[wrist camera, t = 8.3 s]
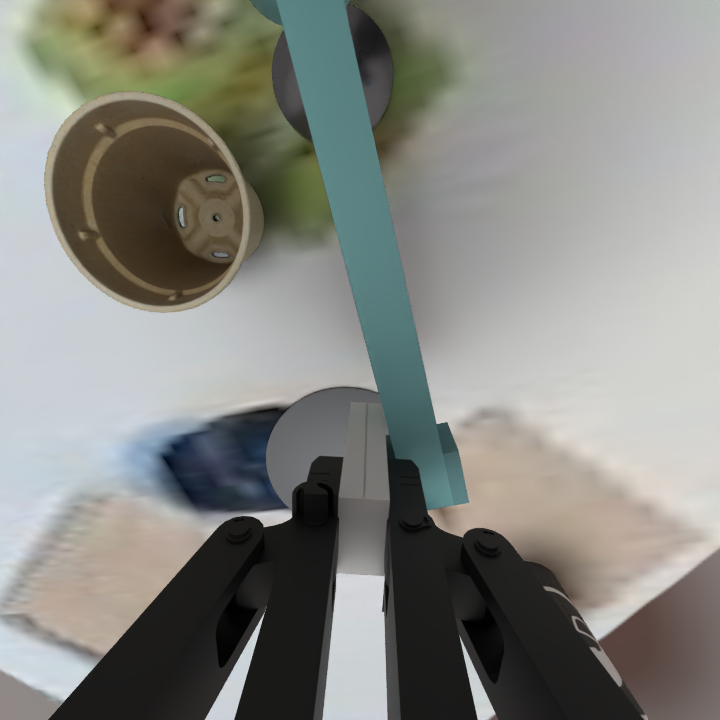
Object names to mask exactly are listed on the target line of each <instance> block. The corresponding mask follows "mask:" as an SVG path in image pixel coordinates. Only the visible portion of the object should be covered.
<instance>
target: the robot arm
mask: <svg viewBox="0 0 720 720" xmlns="http://www.w3.org/2000/svg"><path fill="white" fill-rule="evenodd" d="M336 573H343V574H359V575H376V576H384V573H385V582H384V595H383V608H382V612H384V616H385V648H386V680H387V712H388V720H478V719H477V715H476V710H475V705H474V701H473V696H472V692H471V687H470V682H469V678H468V673H467V669H466V664H465V660H464V655H463V650H462V646H461V641H460V637H461V639H462V641H463V644H464V646H465V648H466V650H467V652H468V655H469V657H470V659H471V661H472V663H473V665H474V668H475V670H476V672H477V674H478V676H479V678H480V681H481V683H482V685H483V687H484V689H485V692H486V694H487V696H488V698H489V700H490V702H491V705H492V707H493V709H494V711H495V713H496V715H497V718H498V720H644V719H643V717H642V716H641V715H640V713H639V712H638V711H637V710H636V708H635V707H634V706H633V704H632V703H631V702H630V700H629V699H628V698H627V696H626V695H625V694H624V692H623V691H622V690H621V688H620V687H619V686H618V685H617V683H616V682H615V681H614V679H613V678H612V677H611V675H610V674H609V673H608V671H607V670H606V669H605V667H604V666H603V665H602V663H601V662H600V661H599V660H598V658H597V657H596V656H595V654H594V653H593V652H592V650H591V649H590V648H589V646H588V645H587V644H586V642H585V641H584V640H583V638H582V637H581V636H580V634H579V633H578V632H577V631H576V629H575V628H574V627H573V625H572V624H571V623H570V621H569V620H568V619H567V617H566V616H565V615H564V613H563V612H562V611H561V609H560V608H559V607H558V606H557V604H556V603H555V602H554V600H553V599H552V598H551V596H550V595H549V594H548V592H547V591H546V590H545V588H544V587H543V586H542V584H541V583H540V582H539V580H538V579H537V578H536V577H535V575H534V574H533V573H532V571H531V570H530V569H529V567H528V566H527V565H526V563H525V562H524V561H523V559H522V558H521V557H520V555H519V554H518V553H517V552H516V550H515V549H514V548H513V546H512V545H511V544H510V542H509V541H508V540H507V539H506V538H504V537H503V536H502V535H500V534H499V533H497V532H495V531H492V530H489V529H485V528H474V529H471V530H468V531H467V532H466V533H465V534H464V537H463V538H462V537H459V536H456V535H453V534H450V533H447V532H445V531H443V530H441V529H439V528H438V527H437V526H436V525H435V523H434V521H433V519H432V518H431V517H430V516H429V515H428V512H427V507H426V502H425V497H424V492H423V487H422V482H421V479H420V472H419V468H418V467H417V466H416V464H415V463H414V462H413V461H412V460H407V459H389V458H387V450H386V436H385V421H384V412H383V408H382V404H381V403H362V402H351V405H350V413H349V420H348V428H347V436H346V443H345V451H344V457H333V456H318V457H317V458H316V459H315V460H314V461H313V462H312V463H311V466H310V470H309V474H308V477H307V481H306V482H303V483H301V484H299V485H298V486H297V487H295V489H294V490H293V492H292V518H291V519H290V520H288V521H286V522H284V523H282V524H278V525H274V526H269V527H263V524H262V523H261V522H260V520H258V519H256V518H254V517H249V516H241V517H235V518H232V519H230V520H228V521H225V522H224V523H223V524H222V525H220V526H219V527H218V528H217V529H216V530H215V532H214V533H213V534H212V535H211V536H210V537H209V538H208V539H207V541H206V542H205V543H204V544H203V545H202V546H201V547H200V549H199V550H198V551H197V552H196V553H195V554H194V555H193V556H192V558H191V559H190V560H189V561H188V562H187V563H186V564H185V566H184V567H183V568H182V569H181V570H180V571H179V572H178V573H177V575H176V576H175V577H174V578H173V579H172V580H171V581H170V583H169V584H168V585H167V586H166V587H165V588H164V589H163V590H162V592H161V593H160V594H159V595H158V596H157V597H156V598H155V599H154V601H153V602H152V603H151V604H150V605H149V606H148V607H147V609H146V610H145V611H144V612H143V613H142V614H141V615H140V616H139V618H138V619H137V620H136V621H135V622H134V623H133V624H132V626H131V627H130V628H129V629H128V630H127V631H126V632H125V633H124V635H123V636H122V637H121V638H120V639H119V640H118V641H117V643H116V644H115V645H114V646H113V647H112V648H111V649H110V650H109V652H108V653H107V654H106V655H105V656H104V657H103V658H102V659H101V661H100V662H99V663H98V664H97V665H96V666H95V667H94V669H93V670H92V671H91V672H90V673H89V674H88V675H87V676H86V678H85V679H84V680H83V681H82V682H81V683H80V684H79V686H78V687H77V688H76V689H75V690H74V691H73V692H72V693H71V695H70V696H69V697H68V698H67V699H66V700H65V701H64V703H63V704H62V705H61V706H60V707H59V708H58V709H57V711H56V712H55V713H54V714H53V715H52V716H51V717H50V718H49V719H48V720H205V718H206V716H207V715H208V713H209V711H210V709H211V707H212V706H213V704H214V702H215V700H216V698H217V697H218V695H219V693H220V691H221V689H222V688H223V686H224V684H225V682H226V680H227V679H228V677H229V675H230V673H231V671H232V670H233V668H234V666H235V664H236V662H237V661H238V659H239V657H240V655H241V654H242V652H243V650H244V648H245V646H246V645H247V643H248V641H249V639H250V637H251V636H252V634H253V632H254V630H255V628H256V627H257V625H258V623H259V621H260V619H261V618H262V616H263V614H264V612H265V614H264V618H263V621H262V625H261V628H260V632H259V635H258V639H257V642H256V646H255V649H254V653H253V656H252V660H251V663H250V667H249V670H248V674H247V677H246V681H245V684H244V688H243V691H242V695H241V698H240V702H239V705H238V709H237V712H236V716H235V719H234V720H322V717H323V708H324V698H325V688H326V679H327V669H328V659H329V650H330V640H331V630H332V621H333V611H334V601H335V592H336ZM266 606H267V607H266ZM265 609H266V611H265ZM459 635H460V637H459Z"/></svg>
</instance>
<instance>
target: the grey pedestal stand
mask: <svg viewBox="0 0 720 720" xmlns="http://www.w3.org/2000/svg"><path fill="white" fill-rule="evenodd" d="M345 9H346V13H347V18H348V22H349V27H350V32H351V36H352V41H353V45H354V50H355V54H356V59H357V64H358V68H359V73H360V77H361V82H362V86H363V91H364V96H365V100H366V105H367V109H368V114H369V118H370V123H371V128H372V131H374V129H375V128H376V127H377V126H378V124H379V123H380V121H381V120H382V118H383V116H384V114H385V112H386V110H387V107H388V104H389V101H390V96H391V91H392V81H393V65H392V58H391V54H390V50H389V47H388V44H387V42H386V39H385V37H384V35H383V33H382V32H381V30H380V29H379V27H378V26H377V24H376V23H375V22H374V21H373V20H372V19H371V18H370V17H369V16H368V15H367V14H366V13H364V12H363V11H361V10H360V9H358V8H356V7H354V6H352V5H349V4H347V5H346V7H345ZM272 81H273V88H274V92H275V96H276V99H277V102H278V105H279V107H280V109H281V111H282V113H283V114H284V116H285V117H286V119H287V120H288V122H289V123H290V124H291V126H292V127H293V128H294V129H295V130H296V131H297V132H298V133H299V134H300V135H301V136H302V137H304V138H305V139H306V140H308V141H310V142H312V143H313V139H312V135H311V132H310V128H309V124H308V120H307V116H306V112H305V109H304V105H303V101H302V97H301V93H300V89H299V86H298V82H297V78H296V74H295V70H294V66H293V63H292V59H291V55H290V51H289V47H288V43H287V40H286V36H285V32H284V31H283V32H282V34H281V36H280V38H279V40H278V43H277V46H276V48H275V52H274V57H273V64H272ZM313 144H314V143H313Z"/></svg>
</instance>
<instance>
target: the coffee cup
mask: <svg viewBox="0 0 720 720" xmlns="http://www.w3.org/2000/svg"><path fill="white" fill-rule="evenodd" d="M525 563H526V565H527V566H528V567H529V569H530V570H531V571H532V573H533V574H534V575H535V577H536V578H537V579H538V580H539V582H540V583H541V584H542V586H543V587H544V588H545V590H546V591H547V592H548V594H549V595H550V596H551V598H552V599H553V600H554V602H555V603H556V604H557V606H558V607H559V608H560V609H561V611H562V612H563V613H564V615H565V616H566V617H567V619H568V620H569V621H570V623H571V624H572V625H573V627H574V628H575V629H576V631H577V632H578V633H579V634H580V636H581V637H582V638H583V640H584V641H585V642H586V644H587V645H588V646H589V648H590V649H591V650H592V652H593V653H594V654H595V656H596V657H597V658H598V660H599V661H600V662H601V663H602V665H603V666H604V667H605V669H606V670H607V671H608V673H609V674H610V675H611V677H612V678H613V679H614V681H615V682H616V683H617V685H618V686H619V687H620V688H621V690H622V691H623V692H624V694H625V695H626V696H627V698H628V699H629V700H630V702H631V703H632V704H633V706H634V707H635V708H636V710H637V711H638V712H639V713H640V715H641V716H642V717H643V719H644V720H649V719H648V718H647V716H646V715H645V713H644V712H643V710H642V709H641V707H640V706H639V704H638V703H637V701H636V700H635V698H634V697H633V695H632V694H631V692H630V690H629V689H628V687H627V686H626V685H625V683H624V681H623V680H622V678H621V677H620V675H619V674H618V672H617V671H616V669H615V668H614V666H613V665H612V663H611V662H610V660H609V658H608V657H607V655H606V654H605V652H604V651H603V649H602V648H601V646H600V645H599V643H598V642H597V640H596V639H595V637H594V636H593V634H592V632H591V631H590V629H589V628H588V626H587V625H586V623H585V622H584V620H583V619H582V617H581V616H580V614H579V613H578V611H577V610H576V608H575V606H574V605H573V603H572V602H571V600H570V599H569V597H568V596H567V594H566V593H565V591H564V590H563V588H562V587H561V585H560V583H559V582H558V580H557V579H556V577H555V576H554V575H553V573H552V572H551V571H550V570H548V569H547V568H545V567H544V566H542V565H539V564H536V563H531V562H525Z"/></svg>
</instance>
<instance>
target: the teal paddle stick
mask: <svg viewBox="0 0 720 720" xmlns="http://www.w3.org/2000/svg"><path fill="white" fill-rule="evenodd" d="M249 1H250V2H251V3H252V4H253V6H254V7H255V8H256V9H257V10H258V11H259V12H260V13H261V14H263V15H264V16H265V17H266V18H268V19H269V20H271V21H273V22H274V23H276V24H279V25H281V26H283V28H284V32H285V36H286V40H287V43H288V47H289V51H290V55H291V59H292V63H293V66H294V70H295V74H296V78H297V82H298V86H299V89H300V93H301V97H302V101H303V105H304V109H305V112H306V116H307V120H308V124H309V128H310V132H311V135H312V139H313V143H314V147H315V151H316V155H317V158H318V162H319V166H320V170H321V174H322V178H323V181H324V185H325V189H326V193H327V197H328V201H329V204H330V208H331V212H332V216H333V220H334V224H335V227H336V231H337V235H338V239H339V243H340V247H341V250H342V254H343V258H344V262H345V266H346V270H347V273H348V277H349V281H350V285H351V289H352V293H353V296H354V300H355V304H356V308H357V312H358V316H359V319H360V323H361V327H362V331H363V335H364V339H365V342H366V346H367V350H368V354H369V358H370V362H371V366H372V369H373V373H374V377H375V381H376V385H377V389H378V392H379V396H380V400H381V404H382V408H383V412H384V415H385V419H386V423H387V427H388V431H389V435H385V436H386V450H387V458H389V459H407V460H412V461H413V462H414V463H415V464H416V466H417V467H418V468H419V472H420V479H421V482H422V487H423V492H424V497H425V502H426V507H427V510H431V509H437V508H442V507H447V506H453V505H458V504H464V503H469V500H468V495H467V490H466V485H465V480H464V475H463V471H462V466H461V461H460V456H459V451H458V448H457V446H456V443H455V441H454V438H453V436H452V433H451V431H450V428H449V426H448V423H447V422H446V423H441V424H436V420H435V416H434V411H433V406H432V402H431V397H430V393H429V388H428V384H427V379H426V374H425V370H424V365H423V361H422V356H421V352H420V347H419V342H418V338H417V333H416V329H415V324H414V320H413V315H412V310H411V306H410V301H409V297H408V292H407V288H406V283H405V278H404V274H403V269H402V265H401V260H400V256H399V251H398V246H397V242H396V237H395V233H394V228H393V224H392V219H391V214H390V210H389V205H388V201H387V196H386V192H385V187H384V182H383V178H382V173H381V169H380V164H379V160H378V155H377V150H376V146H375V141H374V137H373V132H372V128H371V123H370V118H369V114H368V109H367V105H366V100H365V96H364V91H363V86H362V82H361V77H360V73H359V68H358V64H357V59H356V54H355V50H354V45H353V41H352V36H351V32H350V27H349V22H348V18H347V13H346V9H345V7H346V5H347V4H348V3H349V1H350V0H249Z"/></svg>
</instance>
